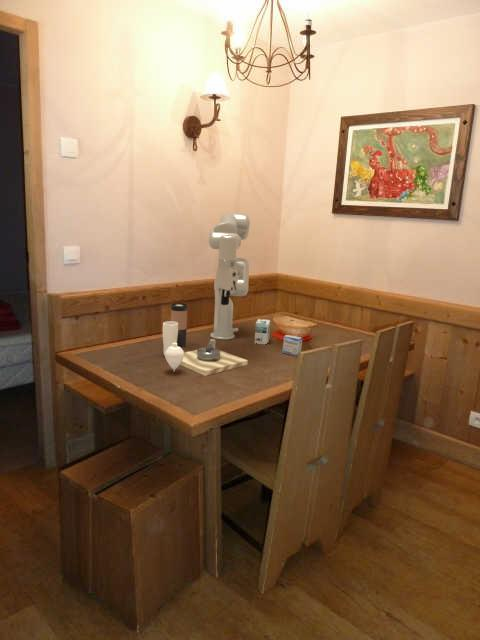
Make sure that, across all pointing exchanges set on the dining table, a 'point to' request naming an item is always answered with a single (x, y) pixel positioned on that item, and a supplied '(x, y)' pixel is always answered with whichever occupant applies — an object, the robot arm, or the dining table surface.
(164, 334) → the drinking glass
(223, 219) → the robot arm
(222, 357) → the board
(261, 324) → the light bulb box
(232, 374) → the dining table surface
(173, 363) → the spinning top
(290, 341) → the medicine box
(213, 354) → the silver piece
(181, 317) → the travel mug
